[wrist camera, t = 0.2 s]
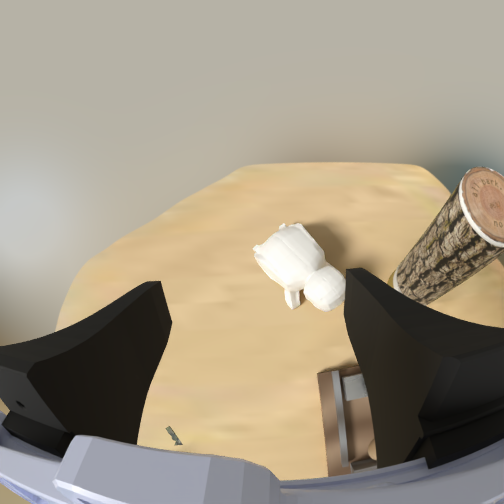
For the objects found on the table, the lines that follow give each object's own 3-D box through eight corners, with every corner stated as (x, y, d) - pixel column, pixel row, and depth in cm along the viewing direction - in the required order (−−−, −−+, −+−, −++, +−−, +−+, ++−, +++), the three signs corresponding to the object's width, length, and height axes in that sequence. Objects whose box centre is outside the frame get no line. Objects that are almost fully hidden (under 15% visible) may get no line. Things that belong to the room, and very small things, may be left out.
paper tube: (380, 273, 41) (447, 169, 18) (419, 264, 40) (502, 164, 18) (391, 318, 38) (483, 253, 16) (431, 307, 38) (537, 236, 15)
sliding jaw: (401, 386, 33) (421, 389, 26) (344, 400, 34) (353, 407, 27) (398, 362, 34) (417, 360, 28) (341, 375, 35) (349, 376, 29)
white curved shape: (259, 276, 47) (321, 340, 37) (237, 242, 41) (306, 311, 31) (300, 242, 48) (368, 296, 38) (284, 205, 42) (362, 259, 32)
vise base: (422, 465, 29) (435, 474, 24) (329, 489, 30) (332, 503, 26) (412, 352, 36) (426, 349, 31) (317, 373, 38) (318, 374, 33)
